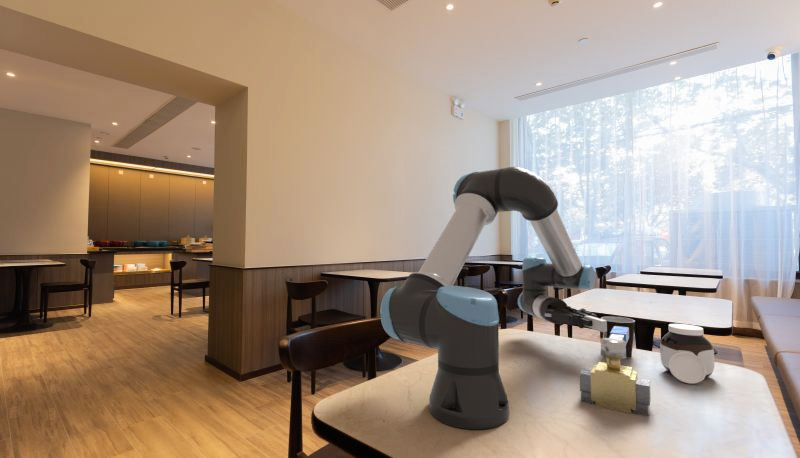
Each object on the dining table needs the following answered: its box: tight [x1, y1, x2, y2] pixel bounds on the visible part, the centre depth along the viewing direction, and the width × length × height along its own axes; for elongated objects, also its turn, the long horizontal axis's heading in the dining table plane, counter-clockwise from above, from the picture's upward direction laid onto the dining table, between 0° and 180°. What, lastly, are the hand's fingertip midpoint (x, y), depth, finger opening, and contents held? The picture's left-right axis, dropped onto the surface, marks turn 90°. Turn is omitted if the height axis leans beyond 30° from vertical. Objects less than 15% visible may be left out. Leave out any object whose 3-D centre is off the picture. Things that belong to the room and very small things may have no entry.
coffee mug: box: [600, 316, 636, 358], centre depth 108 cm, size 12×9×10 cm
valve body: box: [579, 357, 652, 417], centre depth 75 cm, size 12×6×9 cm, turn 54°
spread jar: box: [659, 323, 715, 385], centre depth 89 cm, size 12×11×12 cm
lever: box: [600, 326, 629, 360], centre depth 81 cm, size 4×19×3 cm, turn 144°
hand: (604, 326), depth 92 cm, fingers closed
